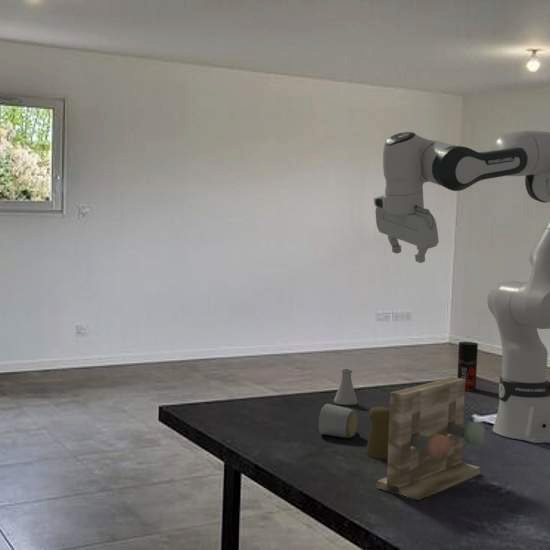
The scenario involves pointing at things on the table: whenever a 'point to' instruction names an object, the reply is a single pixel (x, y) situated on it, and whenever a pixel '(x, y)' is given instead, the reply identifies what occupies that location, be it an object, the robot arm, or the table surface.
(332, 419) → the ceramic mug
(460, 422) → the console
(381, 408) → the cork
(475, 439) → the button sage
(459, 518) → the table surface
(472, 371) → the deodorant
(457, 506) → the table surface
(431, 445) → the button terracotta
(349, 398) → the flask
